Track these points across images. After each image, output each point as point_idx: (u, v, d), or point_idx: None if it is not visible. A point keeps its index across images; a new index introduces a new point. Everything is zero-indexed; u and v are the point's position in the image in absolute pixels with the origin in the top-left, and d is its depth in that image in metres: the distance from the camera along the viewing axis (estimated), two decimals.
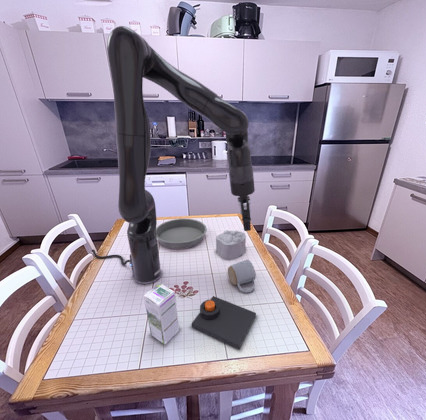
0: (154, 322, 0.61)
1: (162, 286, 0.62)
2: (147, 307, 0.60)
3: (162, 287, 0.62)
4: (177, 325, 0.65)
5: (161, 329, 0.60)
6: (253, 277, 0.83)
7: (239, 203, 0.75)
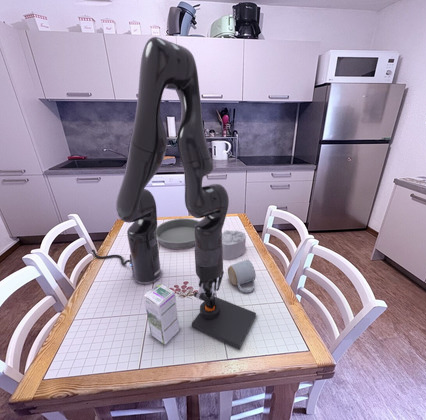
0: (154, 322, 0.61)
1: (162, 286, 0.62)
2: (147, 307, 0.60)
3: (162, 287, 0.62)
4: (177, 325, 0.65)
5: (161, 329, 0.60)
6: (253, 277, 0.83)
7: None
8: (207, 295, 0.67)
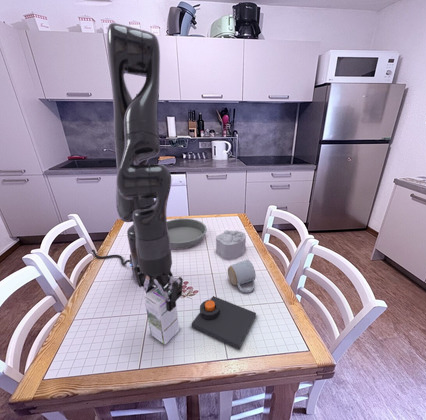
0: (154, 322, 0.61)
1: None
2: (147, 307, 0.60)
3: None
4: (177, 325, 0.65)
5: (161, 329, 0.60)
6: (253, 277, 0.83)
7: None
8: None
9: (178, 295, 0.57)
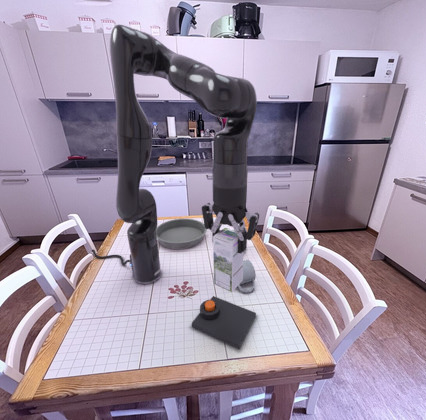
0: (221, 267, 0.57)
1: (229, 229, 0.58)
2: (215, 250, 0.56)
3: (229, 230, 0.58)
4: (242, 274, 0.61)
5: (230, 273, 0.56)
6: (253, 277, 0.83)
7: None
8: None
9: (252, 233, 0.53)
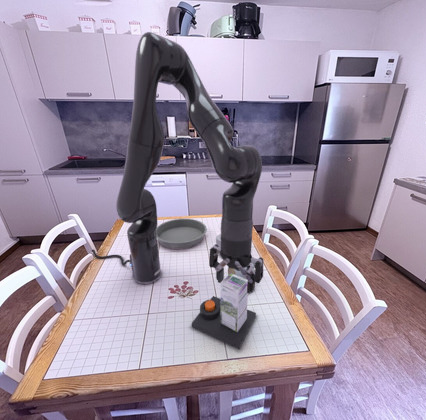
0: (228, 310, 0.63)
1: (234, 275, 0.64)
2: (222, 295, 0.62)
3: (235, 276, 0.64)
4: (246, 314, 0.67)
5: (236, 316, 0.62)
6: None
7: None
8: (220, 264, 0.62)
9: (261, 277, 0.58)
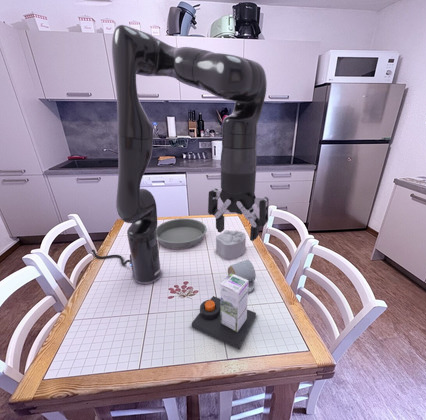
0: (228, 310, 0.63)
1: (234, 275, 0.64)
2: (222, 295, 0.62)
3: (235, 276, 0.64)
4: (246, 314, 0.67)
5: (236, 316, 0.62)
6: (253, 277, 0.83)
7: None
8: None
9: (265, 220, 0.52)
